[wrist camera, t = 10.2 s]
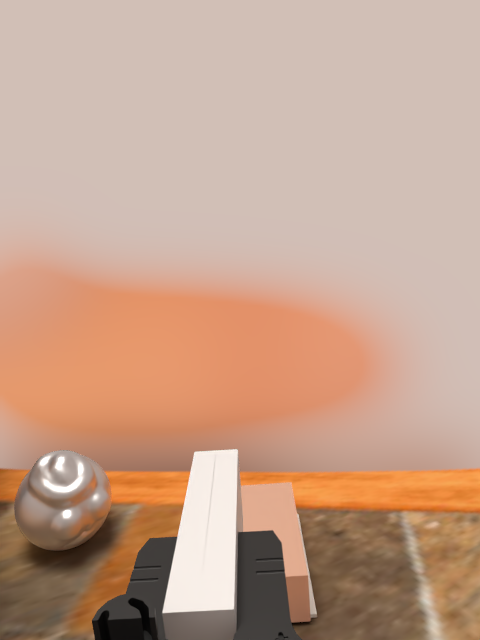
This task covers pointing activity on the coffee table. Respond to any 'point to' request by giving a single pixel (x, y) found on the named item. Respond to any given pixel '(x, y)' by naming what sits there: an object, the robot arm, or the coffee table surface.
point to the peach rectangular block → (280, 537)
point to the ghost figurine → (62, 501)
